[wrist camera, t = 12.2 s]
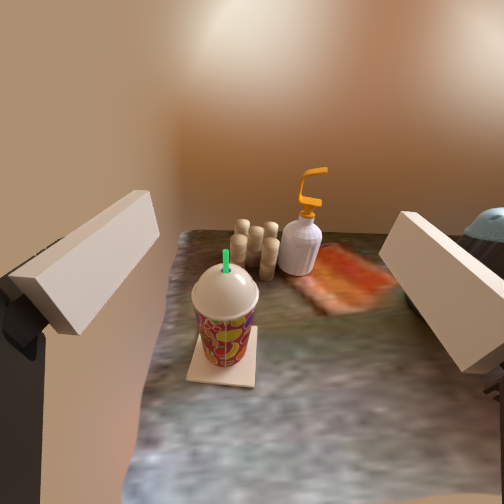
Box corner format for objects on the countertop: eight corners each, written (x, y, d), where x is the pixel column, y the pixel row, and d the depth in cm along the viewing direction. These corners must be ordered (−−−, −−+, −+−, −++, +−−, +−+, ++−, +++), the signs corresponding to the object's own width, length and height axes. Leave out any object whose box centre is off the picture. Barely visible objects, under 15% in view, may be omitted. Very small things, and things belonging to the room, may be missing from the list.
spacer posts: (272, 254, 58) (278, 222, 52) (273, 282, 49) (280, 247, 43) (234, 250, 58) (235, 218, 52) (228, 277, 49) (229, 242, 43)
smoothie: (198, 332, 36) (185, 233, 25) (244, 323, 38) (253, 229, 27) (201, 383, 30) (186, 282, 18) (256, 369, 32) (275, 271, 20)
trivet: (257, 328, 39) (257, 326, 38) (254, 388, 30) (254, 386, 30) (203, 322, 39) (203, 320, 38) (186, 380, 31) (185, 379, 30)
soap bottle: (310, 280, 50) (344, 177, 36) (274, 271, 52) (292, 169, 38) (313, 259, 57) (342, 166, 43) (280, 252, 59) (298, 159, 45)
